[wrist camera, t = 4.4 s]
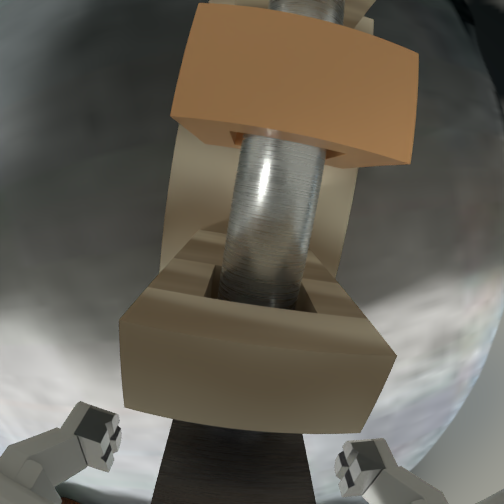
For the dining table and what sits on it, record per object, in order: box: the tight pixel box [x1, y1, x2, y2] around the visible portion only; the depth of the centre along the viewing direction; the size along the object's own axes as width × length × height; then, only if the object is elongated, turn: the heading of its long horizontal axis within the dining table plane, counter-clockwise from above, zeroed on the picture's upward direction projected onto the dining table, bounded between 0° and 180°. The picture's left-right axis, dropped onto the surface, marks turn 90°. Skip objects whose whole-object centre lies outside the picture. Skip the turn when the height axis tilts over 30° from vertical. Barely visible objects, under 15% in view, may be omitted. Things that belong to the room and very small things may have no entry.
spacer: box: [170, 3, 419, 169], centre depth 8 cm, size 3×5×5 cm, turn 80°
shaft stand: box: [119, 0, 397, 434], centre depth 10 cm, size 18×10×12 cm, turn 171°
